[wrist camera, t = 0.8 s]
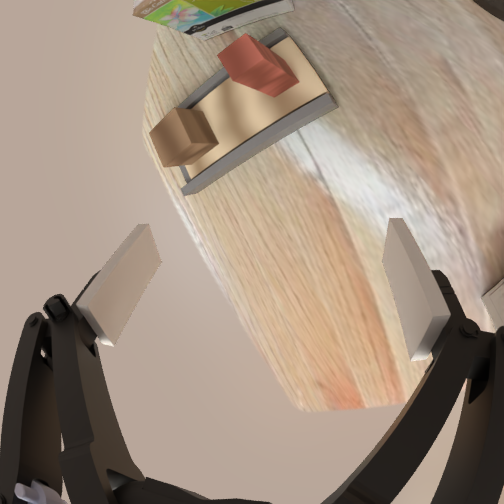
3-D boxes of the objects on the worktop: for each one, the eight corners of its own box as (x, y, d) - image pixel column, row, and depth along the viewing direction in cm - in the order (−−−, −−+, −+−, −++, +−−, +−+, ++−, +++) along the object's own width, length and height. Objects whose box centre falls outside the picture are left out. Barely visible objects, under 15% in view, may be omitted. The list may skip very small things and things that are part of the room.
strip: (292, 39, 26) (252, 5, 18) (329, 92, 27) (299, 66, 19) (173, 129, 39) (120, 129, 30) (195, 178, 39) (142, 187, 31)
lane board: (289, 35, 28) (280, 27, 25) (338, 107, 28) (332, 102, 26) (168, 129, 41) (154, 129, 39) (197, 193, 42) (184, 196, 39)
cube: (202, 111, 34) (174, 107, 30) (219, 143, 35) (191, 143, 30) (177, 133, 37) (148, 133, 33) (191, 164, 38) (163, 167, 33)
